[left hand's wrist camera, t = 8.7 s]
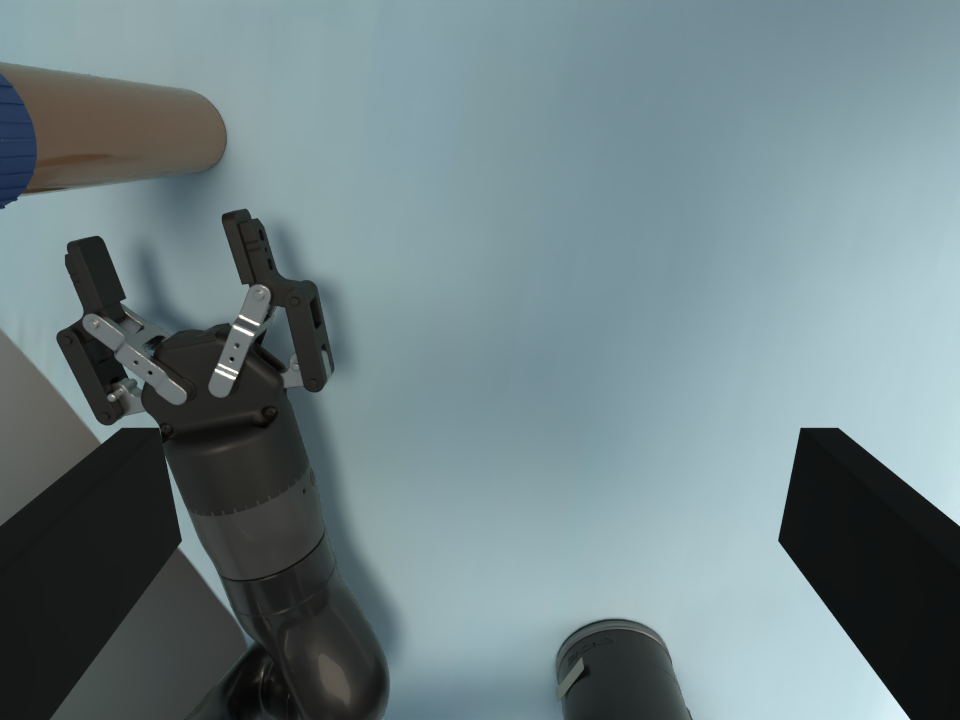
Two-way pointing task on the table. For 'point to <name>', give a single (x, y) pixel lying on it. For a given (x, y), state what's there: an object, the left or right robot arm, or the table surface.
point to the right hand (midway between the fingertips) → (157, 225)
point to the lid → (15, 144)
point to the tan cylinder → (113, 129)
